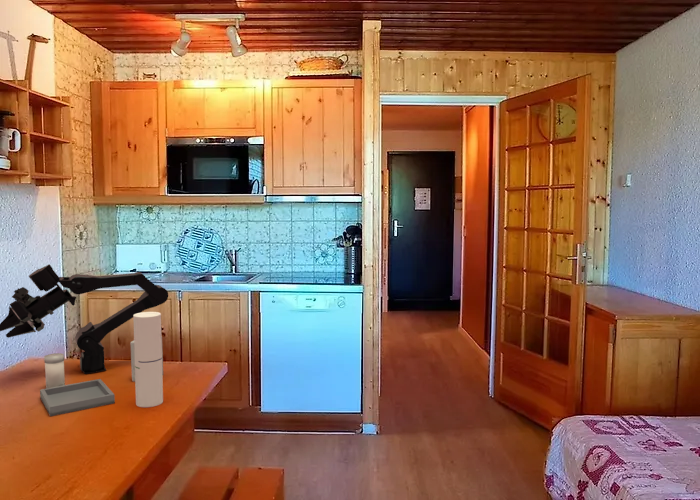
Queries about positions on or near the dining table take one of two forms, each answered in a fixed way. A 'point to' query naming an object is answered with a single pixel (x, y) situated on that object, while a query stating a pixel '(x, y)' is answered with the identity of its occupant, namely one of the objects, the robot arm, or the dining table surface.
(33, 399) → the dining table surface
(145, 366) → the cylindrical container
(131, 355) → the supplement box
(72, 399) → the tray
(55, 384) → the shaker
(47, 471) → the dining table surface
